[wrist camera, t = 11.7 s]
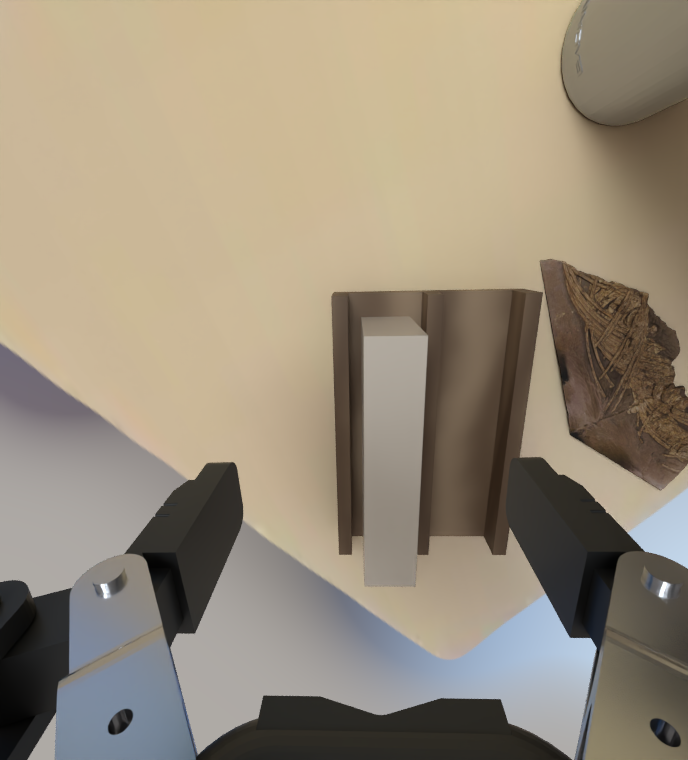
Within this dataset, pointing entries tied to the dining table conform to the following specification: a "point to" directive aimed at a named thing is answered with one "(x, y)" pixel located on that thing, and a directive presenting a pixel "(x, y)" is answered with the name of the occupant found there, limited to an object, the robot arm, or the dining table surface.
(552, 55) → the dining table surface
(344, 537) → the rack
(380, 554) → the gray rectangular block
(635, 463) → the wooden fragment
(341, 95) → the dining table surface
